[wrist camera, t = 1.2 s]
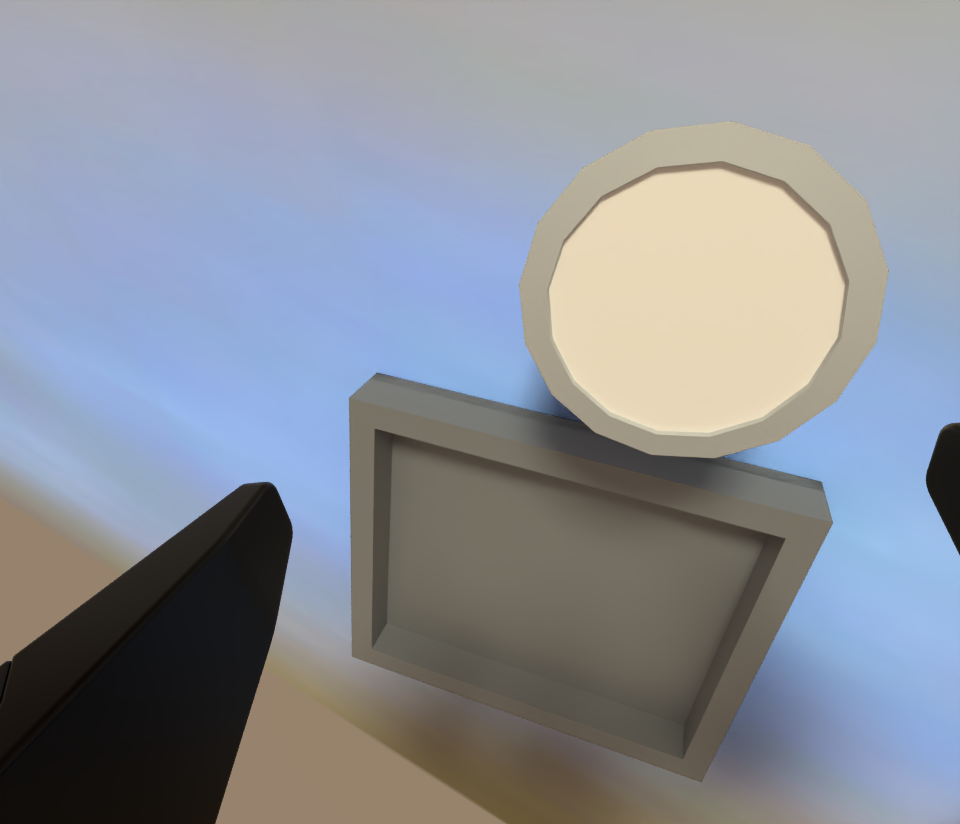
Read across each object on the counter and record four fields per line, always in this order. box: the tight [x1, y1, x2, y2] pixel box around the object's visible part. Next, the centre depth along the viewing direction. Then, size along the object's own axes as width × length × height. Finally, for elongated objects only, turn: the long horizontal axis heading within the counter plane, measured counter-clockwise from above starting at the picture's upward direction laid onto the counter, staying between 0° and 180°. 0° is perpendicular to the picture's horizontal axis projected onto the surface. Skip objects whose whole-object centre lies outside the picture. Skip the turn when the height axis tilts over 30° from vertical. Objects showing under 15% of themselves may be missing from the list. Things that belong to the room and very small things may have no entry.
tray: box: [349, 373, 833, 782], centre depth 25 cm, size 16×14×2 cm
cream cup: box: [519, 121, 889, 458], centre depth 15 cm, size 7×7×7 cm
